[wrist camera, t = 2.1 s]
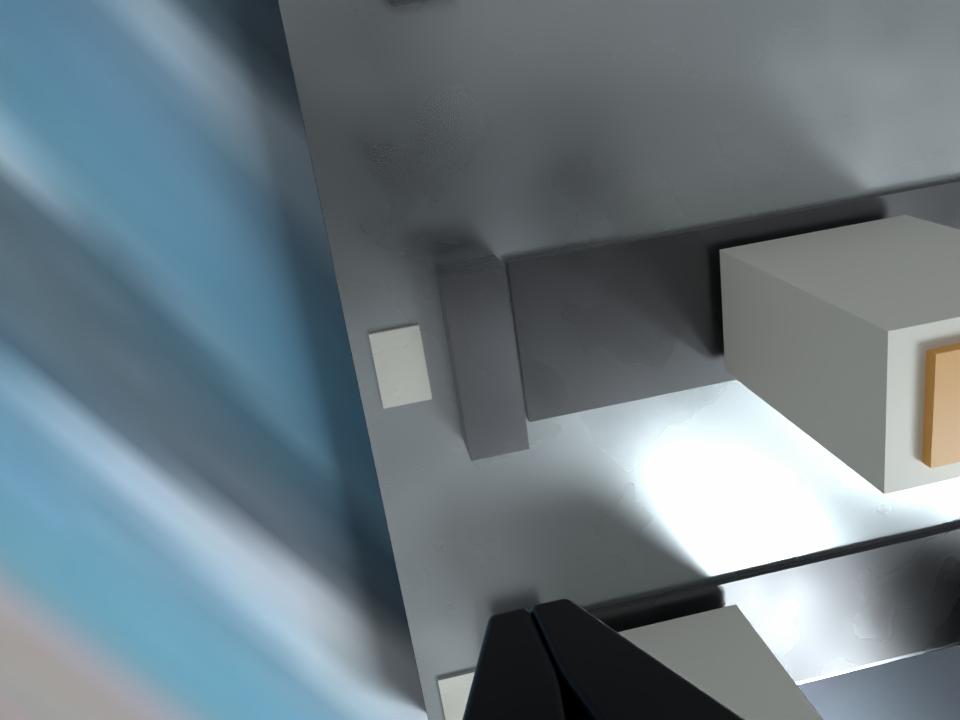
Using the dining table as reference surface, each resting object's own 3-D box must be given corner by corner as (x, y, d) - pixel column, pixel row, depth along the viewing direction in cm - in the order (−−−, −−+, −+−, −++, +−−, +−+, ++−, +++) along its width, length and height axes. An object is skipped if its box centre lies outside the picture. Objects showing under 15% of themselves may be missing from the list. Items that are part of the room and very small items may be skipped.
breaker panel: (1078, 559, 25) (1174, 622, 22) (429, 715, 23) (444, 807, 20) (1181, -317, 18) (1345, -389, 15) (238, -206, 15) (220, -264, 13)
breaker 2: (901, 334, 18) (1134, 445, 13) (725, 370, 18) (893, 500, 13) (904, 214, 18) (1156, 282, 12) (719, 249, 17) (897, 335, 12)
